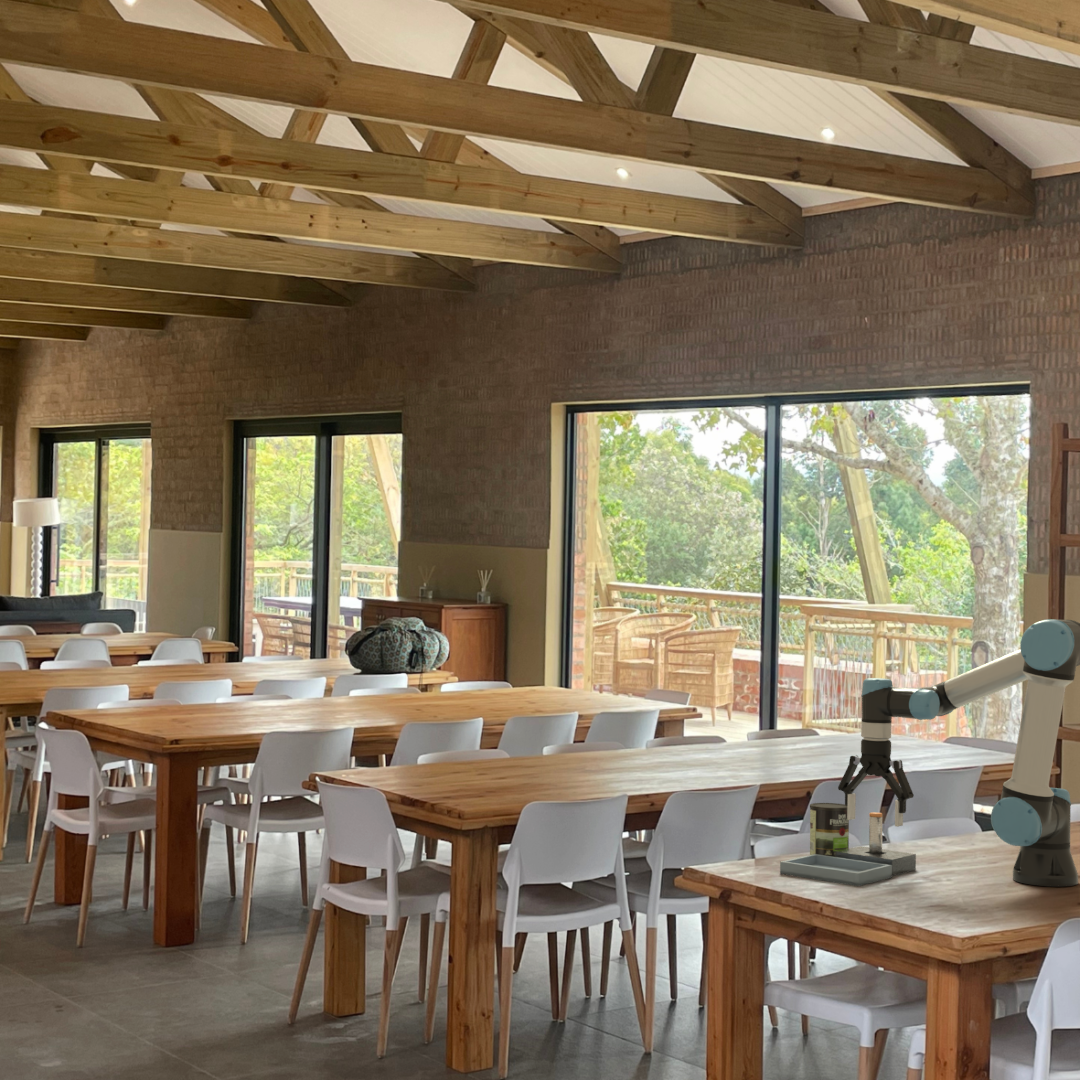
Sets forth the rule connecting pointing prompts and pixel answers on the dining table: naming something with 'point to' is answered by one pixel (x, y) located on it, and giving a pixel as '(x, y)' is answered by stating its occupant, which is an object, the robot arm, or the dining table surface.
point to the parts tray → (836, 869)
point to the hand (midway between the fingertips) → (874, 822)
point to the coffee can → (828, 828)
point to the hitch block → (882, 858)
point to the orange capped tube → (875, 833)
